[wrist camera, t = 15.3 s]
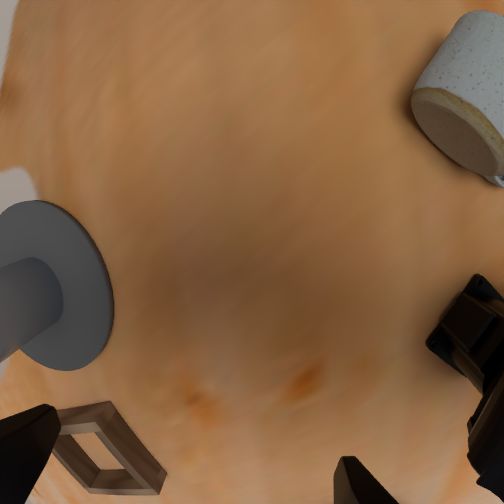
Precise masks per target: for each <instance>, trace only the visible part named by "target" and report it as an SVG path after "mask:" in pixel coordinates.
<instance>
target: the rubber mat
mask: <svg viewBox="0 0 504 504" xmlns="http://www.w3.org/2000/svg"><path fill="white" fill-rule="evenodd" d="M27 257H35V258H38V259H40V260H42V261H43V262H45V263H46V264H47V265H48V266H49V267H50V268H51V269H52V271H53V272H54V274H55V275H56V277H57V279H58V281H59V283H60V286H61V289H62V294H63V311H62V314H61V317H60V318H59V320H58V321H57V322H56V323H54V324H53V325H52V326H50V327H49V328H47V329H46V330H45V331H43V332H42V333H40V334H39V335H38V336H36V337H35V338H33V339H32V340H31V341H29V342H28V343H27V344H25V345H24V346H23V347H21V348H20V350H22V351H23V352H24V353H25V354H26V355H27V356H29V357H30V358H31V359H33V360H34V361H36V362H38V363H40V364H41V365H44V366H46V367H48V368H52V369H55V370H62V371H71V370H76V369H80V368H82V367H84V366H86V365H88V364H89V363H90V362H92V361H93V360H94V359H95V358H96V357H97V356H98V354H99V353H100V352H101V351H102V350H103V348H104V347H105V345H106V343H107V341H108V339H109V336H110V333H111V329H112V325H113V315H114V307H113V295H112V288H111V284H110V279H109V276H108V273H107V269H106V266H105V264H104V261H103V259H102V257H101V254H100V252H99V250H98V249H97V247H96V245H95V243H94V241H93V240H92V238H91V237H90V235H89V234H88V233H87V231H86V230H85V229H84V228H83V226H82V225H81V224H80V223H79V222H78V221H77V220H76V219H75V218H74V217H73V216H72V215H71V214H69V213H68V212H67V211H65V210H64V209H62V208H61V207H59V206H57V205H55V204H52V203H49V202H46V201H39V200H33V201H24V202H20V203H17V204H14V205H12V206H10V207H9V208H7V209H6V210H5V211H4V212H2V214H1V215H0V268H1V267H3V266H6V265H8V264H11V263H14V262H16V261H19V260H21V259H24V258H27Z"/></svg>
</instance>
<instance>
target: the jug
mask: <svg viewBox="0 0 504 504" xmlns="http://www.w3.org/2000/svg"><path fill="white" fill-rule="evenodd" d="M62 311H63V294H62V289H61V286H60V283H59V281H58V279H57V277H56V275H55V274H54V272H53V271H52V269H51V268H50V267H49V266H48V265H47V264H46V263H45V262H43V261H42V260H40V259H38V258H35V257H27V258H24V259H21V260H19V261H16V262H14V263H11V264H8V265H6V266H3V267H1V268H0V363H1V362H2V361H4V360H5V359H6V358H8V357H9V356H10V355H12V354H13V353H14V352H16V351H17V350H18V349H20V348H21V347H23V346H24V345H25V344H27V343H28V342H29V341H31V340H32V339H33V338H35V337H36V336H38V335H39V334H40V333H42V332H43V331H45V330H46V329H47V328H49V327H50V326H52V325H53V324H54V323H56V322H57V321H58V320H59V318H60V317H61V314H62Z"/></svg>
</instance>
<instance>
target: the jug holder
mask: <svg viewBox="0 0 504 504" xmlns="http://www.w3.org/2000/svg"><path fill="white" fill-rule="evenodd" d="M57 413H58V417H59V419H60V422H61V431H60V434H59V436H58V438H57V441H56V443H55V445H54V447H53V450H52V453H53V455H54V456H55V457H56V458H57V459H58V460H59V462H60V463H61V464H62V465H63V466H64V467H65V468H66V469H67V470H68V472H69V473H70V474H71V475H72V476H73V477H74V478H75V479H76V480H77V481H78V482H79V483H80V484H81V485H82V486H83V487H84V488H85V489H86V490H87V491H88V492H89V493H91V494H107V495H159V494H160V491H161V489H162V486H163V483H164V481H165V478H166V475H167V472H166V471H165V470H164V469H163V468H162V467H161V466H160V465H159V463H158V462H157V461H156V460H155V459H154V458H153V456H152V455H151V454H150V453H149V452H148V450H147V449H146V448H145V447H144V445H143V444H142V443H141V442H140V441H139V439H138V438H137V437H136V435H135V434H134V433H133V432H132V430H131V429H130V428H129V426H128V425H127V424H126V422H125V421H124V420H123V418H122V417H121V416H120V414H119V413H118V412H117V410H116V409H115V407H114V406H113V404H112V403H111V402H110V401H108V402H103V403H98V404H93V405H87V406H82V407H76V408H70V409H64V410H57ZM90 432H94V433H95V434H96V435H97V436H98V438H99V439H100V440H101V441H102V442H103V444H104V445H105V446H106V447H107V449H108V450H109V451H110V452H111V453H112V454H113V456H114V457H115V458H116V459H117V460H118V461H119V462H120V464H121V465H122V466H123V467H124V468H125V469H126V470H100V469H99V468H98V467H97V466H96V465H95V464H94V463H93V461H92V460H91V459H90V458H89V457H88V456H87V455H86V453H85V452H84V451H83V450H82V449H81V447H80V446H79V445H78V444H77V443H76V441H75V440H74V439H73V438H72V436H71V435H70V434H79V433H90Z"/></svg>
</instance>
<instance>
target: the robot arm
mask: <svg viewBox="0 0 504 504" xmlns="http://www.w3.org/2000/svg"><path fill="white" fill-rule="evenodd" d="M479 279H480V281H479V283H478V284H477V282H478V280H479ZM433 341H435V342H434V344H433V345H431V343H432V342H433ZM426 346H427V347H428V348H429V350H431V351H432V352H433V353H435V354H436V355H437V356H439V357H440V358H441V359H443V360H444V361H445V362H447V363H448V364H449V365H451V366H452V367H453V368H454V369H456V370H457V371H458V372H460V373H461V374H462V375H464V376H465V377H466V378H468V379H469V380H470V382H471V383H472V384H473V385H474V386H475V387H476V389H477V390H478V391H479V392H480V394H481V395H482V396H483V397H482V399H481V401H480V403H479V405H478V407H477V409H476V411H475V412H474V414H473V416H472V417H470V419H469V421H468V422H467V428H468V433H469V437H468V448H469V452H468V453H467V457H468V460H469V462H470V464H471V466H472V467H473V468H474V470H475V471H476V472H477V474H479V475H480V477H479V478H478V479H477V481H476V483H477V484H478V485H480V486H482V487H484V488H486V489H488V490H490V491H491V492H492V493H494V494H495V495H496V496H498V497H499V498H500V499H501V500H502V501H503V502H504V299H503V298H502V297H501V296H500V294H499V293H498V292H497V291H496V290H495V289H494V288H493V286H492V285H491V284H490V283H489V282H488V281H487V280H486V279H485V278H484V277H483V276H482V275H480V274H477V275H475V276H474V277H473V279H472V280H471V282H470V283H469V285H468V286H467V287H466V289H465V290H464V292H463V293H462V295H461V296H460V297H459V299H458V300H457V302H456V303H455V304H454V306H453V307H452V308H451V310H450V311H449V312H448V314H447V315H446V316H445V318H444V319H443V320H442V322H441V323H440V324H439V325H438V327H437V328H436V329H435V331H434V332H433V333H432V334H431V336H430V337H429V338H428V339H427V341H426ZM60 431H61V422H60V419H59V417H58V413H57V410H56V409H55V407H53V406H50V405H48V404H42V405H39V406H36V407H34V408H31V409H29V410H26V411H23V412H21V413H18V414H15V415H13V416H10V417H7V418H4V419H2V420H0V504H25V502H26V500H27V498H28V496H29V494H30V493H31V491H32V489H33V487H34V485H35V483H36V482H37V480H38V478H39V476H40V474H41V473H42V471H43V469H44V467H45V465H46V464H47V461H48V459H49V457H50V455H51V452H52V450H53V447H54V445H55V443H56V441H57V438H58V436H59V434H60ZM333 480H334V504H399V503H398V502H397V501H396V500H395V499H394V498H393V497H392V496H391V495H390V494H389V493H388V491H387V490H386V489H385V488H384V487H383V486H382V485H381V484H380V483H379V482H378V481H377V480H376V479H375V477H374V476H373V475H372V474H371V473H370V472H369V471H368V470H367V469H366V468H365V467H364V465H363V464H362V463H361V462H360V461H359V460H358V459H357V458H356V457H355V456H342V457H341V458H340V460H339V462H338V465H337V467H336V470H335V473H334V479H333Z"/></svg>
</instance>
